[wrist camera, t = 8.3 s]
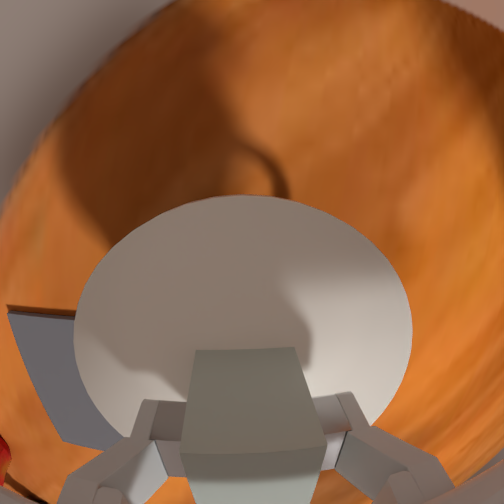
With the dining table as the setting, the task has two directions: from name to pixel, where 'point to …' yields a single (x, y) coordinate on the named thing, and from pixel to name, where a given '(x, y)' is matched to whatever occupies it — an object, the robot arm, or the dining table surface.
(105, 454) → the robot arm
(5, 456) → the apple
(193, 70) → the dining table surface
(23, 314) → the mat
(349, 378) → the lid
